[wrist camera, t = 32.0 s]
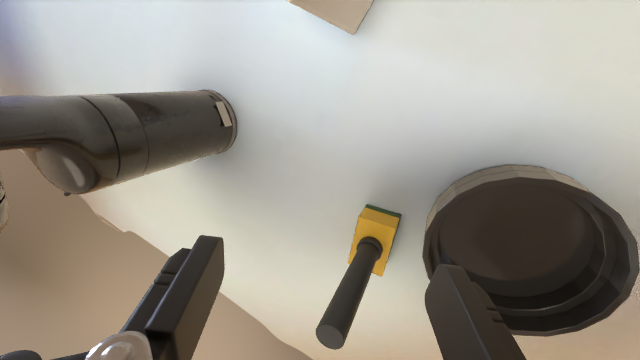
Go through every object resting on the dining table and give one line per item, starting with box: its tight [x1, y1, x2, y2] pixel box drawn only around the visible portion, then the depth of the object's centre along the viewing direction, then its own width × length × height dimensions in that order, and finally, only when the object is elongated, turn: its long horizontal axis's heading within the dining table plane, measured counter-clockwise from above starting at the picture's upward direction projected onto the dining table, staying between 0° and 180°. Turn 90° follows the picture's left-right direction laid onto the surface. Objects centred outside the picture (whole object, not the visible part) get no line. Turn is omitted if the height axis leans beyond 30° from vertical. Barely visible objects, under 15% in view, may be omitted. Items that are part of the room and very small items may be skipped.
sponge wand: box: [316, 204, 401, 349], centre depth 30 cm, size 7×4×18 cm, turn 171°
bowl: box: [423, 165, 640, 337], centre depth 30 cm, size 17×17×5 cm
